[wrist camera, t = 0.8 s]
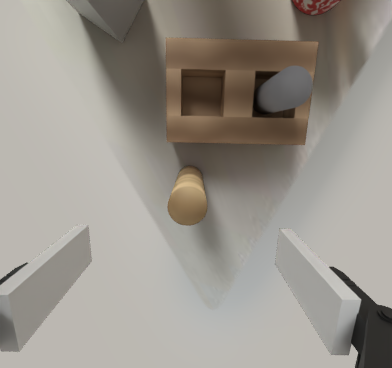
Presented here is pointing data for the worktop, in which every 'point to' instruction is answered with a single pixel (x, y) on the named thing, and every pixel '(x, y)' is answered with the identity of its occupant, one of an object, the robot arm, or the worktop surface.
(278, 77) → the charcoal dowel
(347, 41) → the worktop surface
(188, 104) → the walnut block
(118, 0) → the perfume bottle
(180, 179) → the oak dowel
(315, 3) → the mug
